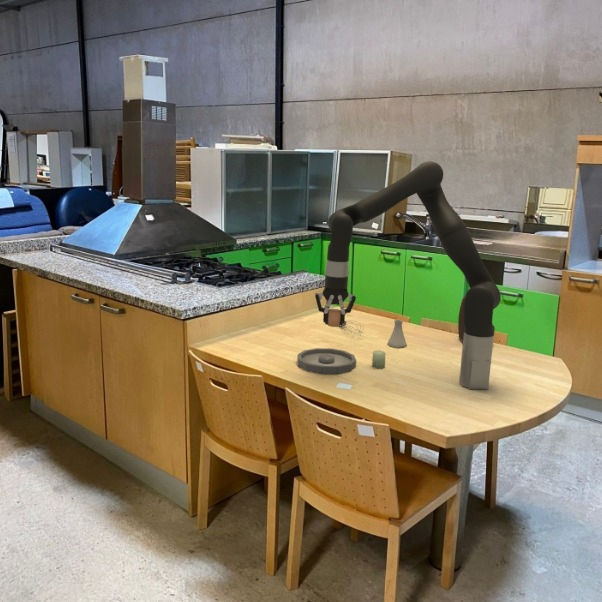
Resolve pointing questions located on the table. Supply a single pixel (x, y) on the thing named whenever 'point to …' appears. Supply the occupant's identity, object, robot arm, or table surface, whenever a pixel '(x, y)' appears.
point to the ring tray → (326, 361)
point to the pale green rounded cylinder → (378, 359)
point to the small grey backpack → (461, 321)
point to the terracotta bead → (334, 317)
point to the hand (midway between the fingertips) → (333, 323)
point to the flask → (397, 336)
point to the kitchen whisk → (352, 327)
